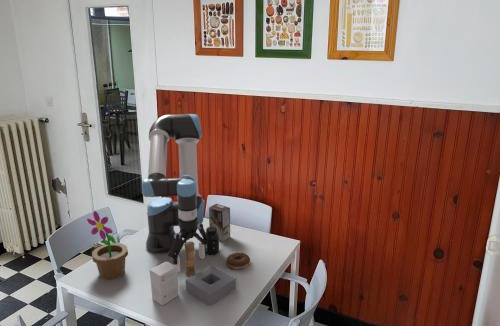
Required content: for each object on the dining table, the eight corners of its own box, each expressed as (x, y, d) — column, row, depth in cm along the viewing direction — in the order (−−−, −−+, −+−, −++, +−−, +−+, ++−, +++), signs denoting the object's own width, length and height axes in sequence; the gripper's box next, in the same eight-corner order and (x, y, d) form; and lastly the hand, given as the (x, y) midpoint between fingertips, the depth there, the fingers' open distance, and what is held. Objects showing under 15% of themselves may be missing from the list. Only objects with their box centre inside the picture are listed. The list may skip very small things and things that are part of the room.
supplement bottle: (205, 256, 176) (204, 232, 173) (204, 248, 183) (203, 226, 179) (219, 255, 178) (219, 231, 174) (218, 247, 184) (218, 225, 180)
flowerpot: (86, 278, 160) (77, 211, 151) (110, 260, 173) (103, 198, 164) (114, 285, 155) (106, 217, 146) (136, 267, 168) (130, 203, 159)
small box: (168, 289, 153) (166, 260, 149) (179, 295, 149) (177, 266, 145) (151, 299, 147) (149, 269, 143) (162, 306, 143) (159, 275, 139)
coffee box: (231, 236, 195) (230, 207, 190) (223, 241, 190) (222, 211, 185) (217, 231, 200) (216, 203, 195) (208, 236, 195) (208, 207, 190)
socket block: (186, 290, 152) (185, 279, 151) (212, 275, 162) (211, 265, 161) (210, 306, 143) (209, 294, 142) (236, 289, 153) (236, 278, 152)
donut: (247, 272, 165) (247, 264, 164) (223, 269, 167) (223, 261, 166) (252, 259, 175) (252, 251, 174) (229, 256, 177) (229, 248, 176)
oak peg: (183, 273, 163) (181, 244, 159) (191, 269, 166) (189, 240, 162) (189, 277, 161) (188, 247, 156) (197, 273, 164) (196, 243, 160)
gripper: (168, 230, 145) (171, 279, 151) (216, 210, 162) (217, 255, 169) (156, 224, 149) (160, 272, 156) (204, 205, 167) (206, 249, 173)
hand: (190, 263), depth 162 cm, fingers open, 13 cm apart
